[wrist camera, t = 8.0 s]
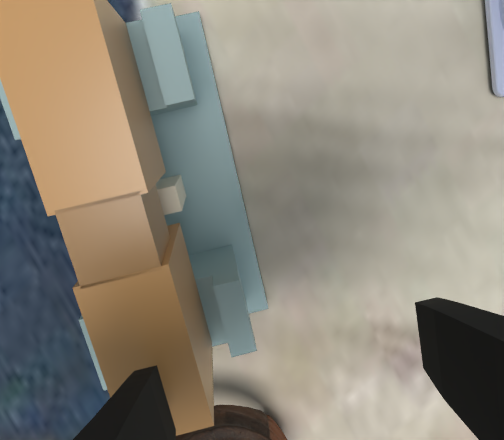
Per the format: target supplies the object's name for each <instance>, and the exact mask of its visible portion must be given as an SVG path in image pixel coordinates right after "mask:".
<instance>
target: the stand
mask: <svg viewBox="0 0 504 440" xmlns="http://www.w3.org/2000/svg"><path fill="white" fill-rule="evenodd" d="M140 12H141V16H142V20H138V21H133V22H128V23H126V26H127V29H128V33H129V37H130V41H131V44H132V48H133V52H134V55H135V59H136V63H137V66H138V70H139V74H140V78H141V81H142V85H143V89H144V92H145V96H146V100H147V103H148V107H149V111H150V115H151V118H152V122H153V126H154V129H155V133H156V137H157V140H158V144H159V148H160V152H161V155H162V159H163V163H164V166H165V170H166V172H165V173H164V175H163V176H162V177H161V178H160V179H159V181H158V182H157V183H156V188H157V191H158V195H159V199H160V202H161V206H162V209H163V213H164V217H165V220H166V224H167V226H168V225H172V224H176V223H180V226H181V229H182V233H183V237H184V240H185V244H186V248H187V251H188V255H189V259H190V263H191V266H192V270H193V274H194V277H195V281H196V285H197V288H198V292H199V296H200V300H201V303H202V307H203V311H204V314H205V318H206V322H207V325H208V329H209V333H210V337H211V340H212V346H216V345H220V344H224V343H228V345H229V349H230V353H231V356H232V357H235V356H239V355H243V354H246V353H250V352H254V351H257V349H256V344H255V340H254V335H253V331H252V326H251V322H250V317H249V313H253V312H257V311H261V310H265V309H268V305H267V300H266V296H265V292H264V288H263V283H262V279H261V275H260V270H259V266H258V262H257V258H256V253H255V249H254V245H253V241H252V236H251V232H250V228H249V224H248V219H247V215H246V211H245V206H244V202H243V198H242V194H241V189H240V185H239V181H238V177H237V172H236V168H235V164H234V159H233V155H232V151H231V147H230V142H229V138H228V134H227V130H226V125H225V121H224V117H223V113H222V108H221V104H220V100H219V95H218V91H217V87H216V83H215V78H214V74H213V70H212V66H211V61H210V57H209V53H208V48H207V44H206V40H205V36H204V31H203V27H202V23H201V19H200V14H199V11H198V12H194V13H189V14H185V15H180V16H176V17H175V15H174V12H173V9H172V5H171V3H169V4H165V5H160V6H155V7H151V8H146V9H142V10H140ZM0 98H1V101H2V104H3V107H4V110H5V113H6V115H7V118H8V121H9V124H10V127H11V130H12V132H13V135H14V138H15V140H21V137H20V134H19V131H18V129H17V126H16V123H15V120H14V117H13V114H12V111H11V108H10V105H9V103H8V100H7V97H6V94H5V91H4V88H3V85H2V82H1V79H0ZM79 322H80V325H81V328H82V331H83V334H84V336H85V339H86V342H87V345H88V348H89V351H90V353H91V356H92V359H93V362H94V365H95V368H96V370H97V373H98V376H99V379H100V382H101V385H102V387H103V390H108V389H107V386H106V383H105V380H104V377H103V375H102V372H101V369H100V366H99V363H98V360H97V357H96V354H95V351H94V349H93V346H92V343H91V340H90V337H89V334H88V331H87V328H86V325H85V322H84V320H83V317H82V316H81V317H80V319H79Z"/></svg>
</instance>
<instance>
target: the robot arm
mask: <svg viewBox="0 0 504 440" xmlns="http://www.w3.org/2000/svg"><path fill="white" fill-rule="evenodd" d="M485 7H486V19H487V31H488V42H489V54H490V66H491V77H492V89H493V92H494V94H495V95H496V96H498V97H504V0H485ZM415 305H416V313H417V321H418V329H419V337H420V345H421V353H422V361H423V368H424V370H425V371H426V373H427V374H428V376H429V377H430V379H431V381H432V382H433V384H434V385H435V387H436V388H437V390H438V391H439V393H440V394H441V395H442V397H443V398H444V400H445V401H446V402H447V403H448V404H449V406H450V407H451V408H452V409H453V410H454V411H455V413H456V414H457V415H458V416H459V417H460V418H461V420H462V421H463V422H464V423H465V424H466V425H467V427H468V428H469V429H470V430H471V431H472V432H473V433H474V435H475V436H476V437H477V438H478V439H479V440H504V316H502V315H499V314H495V313H492V312H488V311H485V310H482V309H478V308H475V307H472V306H468V305H465V304H461V303H458V302H454V301H451V300H447V299H442V298H432V299H428V300H424V301H420V302H416V303H415ZM73 440H176V428H175V425H174V422H173V418H172V415H171V412H170V408H169V405H168V401H167V398H166V395H165V391H164V388H163V384H162V381H161V378H160V374H159V371H158V367H157V365H156V366H152V367H148V368H143V369H139V370H135V371H134V372H133V373H132V374H131V375H130V376H129V377H128V378H127V379H126V380H125V381H124V382H123V384H122V385H121V386H120V387H119V388H118V390H117V391H116V392H115V393H114V394H113V395H112V397H111V398H110V399H109V400H108V401H107V402H106V404H105V405H104V406H103V407H102V408H101V409H100V411H99V412H98V413H97V414H96V415H95V416H94V418H93V419H92V420H91V421H90V422H89V423H88V424H87V425H86V426H85V427H84V428H83V429H82V430H81V431H80V433H79V434H78V435H77V436H76V437H75V438H74V439H73Z"/></svg>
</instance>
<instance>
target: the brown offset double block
mask: <svg viewBox="0 0 504 440" xmlns="http://www.w3.org/2000/svg"><path fill="white" fill-rule="evenodd" d="M0 79H1V82H2V85H3V88H4V91H5V94H6V97H7V100H8V103H9V105H10V108H11V111H12V114H13V117H14V120H15V123H16V126H17V129H18V131H19V134H20V137H21V140H22V143H23V146H24V149H25V152H26V155H27V158H28V160H29V163H30V166H31V169H32V172H33V175H34V178H35V181H36V184H37V186H38V189H39V192H40V195H41V198H42V201H43V204H44V207H45V210H46V213H47V215H48V216H51V215H56V217H57V220H58V223H59V226H60V229H61V232H62V235H63V238H64V241H65V244H66V246H67V249H68V252H69V255H70V258H71V261H72V264H73V267H74V270H75V273H76V276H77V279H78V282H77V283H76V284H75V285H74V287H73V291H74V294H75V296H76V299H77V302H78V305H79V308H80V311H81V314H82V317H83V320H84V322H85V325H86V328H87V331H88V334H89V337H90V340H91V343H92V346H93V349H94V351H95V354H96V357H97V360H98V363H99V366H100V369H101V372H102V375H103V377H104V380H105V383H106V386H107V389H108V392H109V395H110V398H111V397H112V395H113V394H114V393H115V392H116V391H117V390H118V388H119V387H120V386H121V385H122V384H123V382H124V381H125V380H126V379H127V378H128V377H129V376H130V375H131V374H132V373H133V372H134V371H135V370H139V369H143V368H148V367H152V366H156V365H157V367H158V371H159V374H160V378H161V381H162V384H163V388H164V391H165V395H166V398H167V401H168V405H169V408H170V412H171V415H172V418H173V422H174V425H175V428H176V436H177V435H181V434H185V433H189V432H192V431H196V430H200V429H204V428H208V427H211V426H214V398H213V358H212V340H211V337H210V333H209V329H208V325H207V322H206V318H205V314H204V311H203V307H202V303H201V300H200V296H199V292H198V288H197V285H196V281H195V277H194V274H193V270H192V266H191V263H190V259H189V255H188V251H187V248H186V244H185V240H184V237H183V233H182V229H181V226H180V223H176V224H172V225H168V226H167V224H166V220H165V217H164V213H163V209H162V206H161V202H160V199H159V195H158V191H157V188H156V183H157V182H158V181H159V179H160V178H161V177H162V176H163V175H164V173H165V172H166V170H165V166H164V163H163V159H162V155H161V152H160V148H159V144H158V140H157V137H156V133H155V129H154V126H153V122H152V118H151V115H150V111H149V107H148V103H147V100H146V96H145V92H144V89H143V85H142V81H141V78H140V74H139V70H138V66H137V63H136V59H135V55H134V52H133V48H132V44H131V41H130V37H129V33H128V29H127V26H126V23H125V22H124V21H123V19H122V18H121V17H120V16H119V15H118V13H117V12H116V11H115V10H114V8H113V7H112V6H111V5H110V3H109V2H108V1H107V0H0Z"/></svg>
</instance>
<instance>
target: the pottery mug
mask: <svg viewBox="0 0 504 440" xmlns="http://www.w3.org/2000/svg"><path fill="white" fill-rule="evenodd" d="M176 440H287V438H286V437H285V435H284V433H283V432H282V430H281V429H280V427H279V426H278V425H277V424H276V422H275V421H274V420H273V419H272V418H271V417H270V416H269V415H266V414H265V413H264V412H262V411H261V410H256V409H252V408H249V407H242V406H235V405H216V406H214V426H211V427H208V428H204V429H200V430H196V431H192V432H189V433H185V434H181V435H177V436H176Z"/></svg>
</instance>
